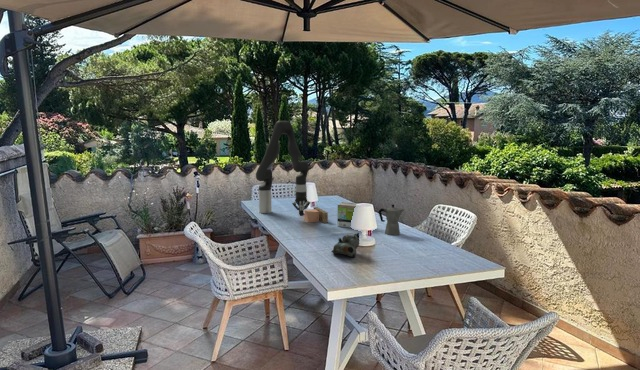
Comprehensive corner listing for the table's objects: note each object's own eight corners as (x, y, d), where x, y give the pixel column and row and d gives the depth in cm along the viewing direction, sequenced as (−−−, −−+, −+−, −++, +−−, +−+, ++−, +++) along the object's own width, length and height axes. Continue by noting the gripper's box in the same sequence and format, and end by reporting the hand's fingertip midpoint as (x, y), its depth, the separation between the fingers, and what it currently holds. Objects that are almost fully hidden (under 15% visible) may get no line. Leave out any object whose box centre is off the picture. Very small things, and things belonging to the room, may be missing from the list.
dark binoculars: (328, 252, 225) (338, 227, 227) (349, 260, 226) (358, 235, 229) (334, 252, 210) (344, 225, 213) (357, 261, 211) (366, 234, 214)
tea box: (337, 226, 278) (337, 204, 276) (342, 223, 288) (342, 201, 286) (359, 228, 273) (359, 206, 271) (363, 225, 282) (363, 203, 280)
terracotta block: (304, 219, 298) (304, 210, 297) (315, 219, 301) (315, 209, 300) (308, 222, 291) (307, 212, 290) (319, 221, 294) (319, 211, 293)
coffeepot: (401, 231, 266) (402, 202, 264) (404, 235, 257) (405, 205, 254) (376, 231, 266) (377, 203, 263) (379, 235, 256) (379, 206, 254)
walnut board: (313, 216, 307) (313, 207, 306) (317, 216, 308) (317, 207, 307) (323, 223, 289) (323, 212, 288) (327, 222, 290) (327, 212, 289)
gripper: (308, 189, 296) (308, 213, 299) (290, 190, 292) (290, 215, 294) (312, 191, 290) (312, 216, 292) (293, 192, 285) (293, 217, 287)
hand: (301, 215), depth 293 cm, fingers closed
